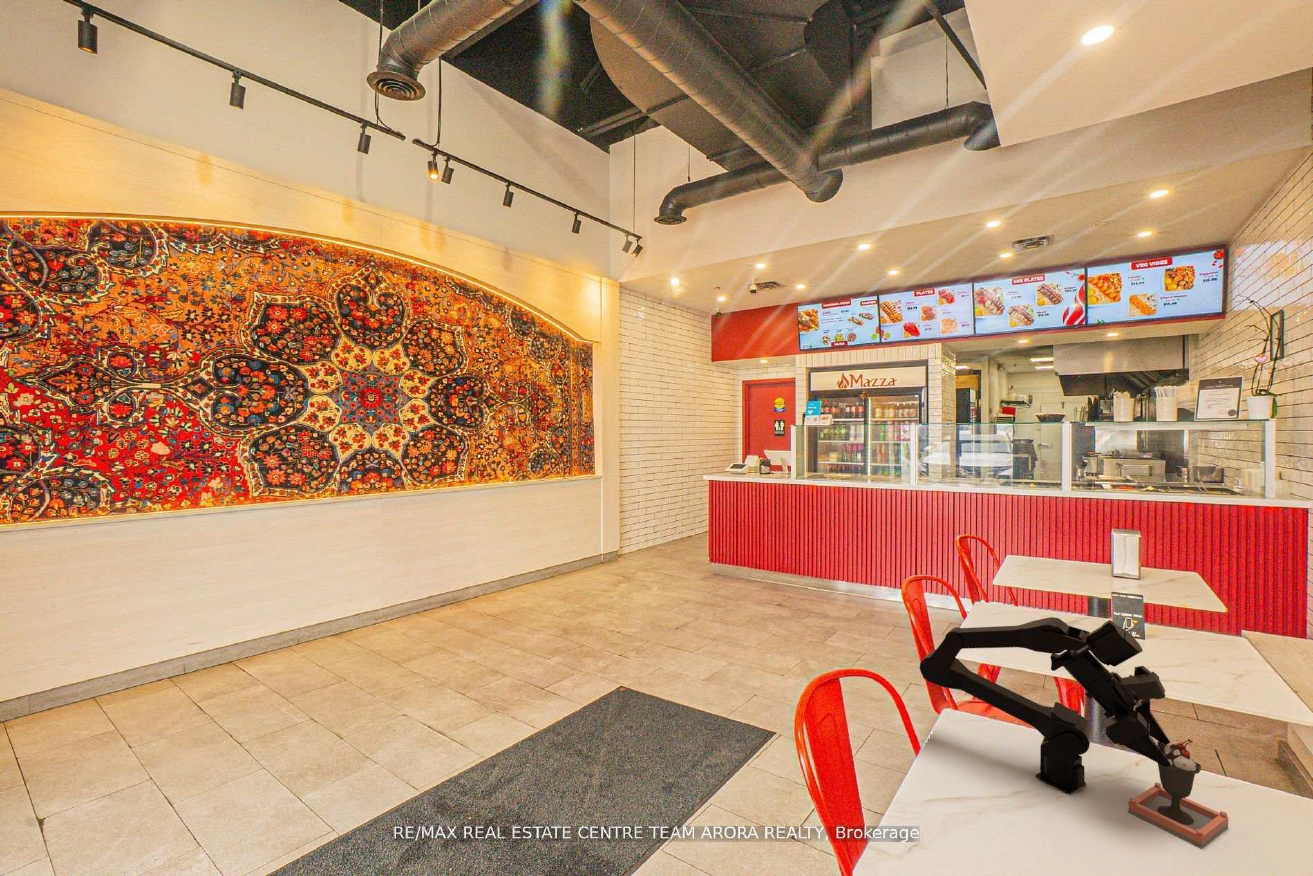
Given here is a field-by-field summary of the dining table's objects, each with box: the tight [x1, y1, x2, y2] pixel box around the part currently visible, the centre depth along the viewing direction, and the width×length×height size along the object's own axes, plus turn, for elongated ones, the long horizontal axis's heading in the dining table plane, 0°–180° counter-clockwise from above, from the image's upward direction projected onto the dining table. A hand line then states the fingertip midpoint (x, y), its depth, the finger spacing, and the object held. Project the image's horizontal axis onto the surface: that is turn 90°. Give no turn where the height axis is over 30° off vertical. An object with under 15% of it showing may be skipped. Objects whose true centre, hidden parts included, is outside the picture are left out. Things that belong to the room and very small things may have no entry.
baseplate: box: [1128, 781, 1229, 849], centre depth 107 cm, size 11×11×3 cm
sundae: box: [1156, 738, 1202, 824], centre depth 107 cm, size 7×7×15 cm
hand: (1168, 754), depth 108 cm, fingers open, 9 cm apart
